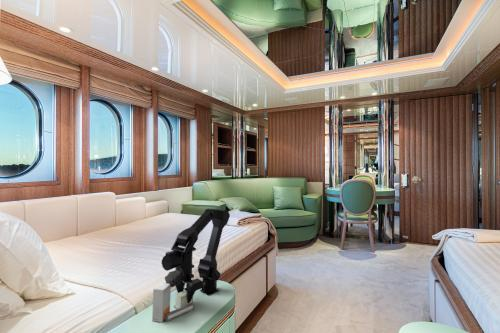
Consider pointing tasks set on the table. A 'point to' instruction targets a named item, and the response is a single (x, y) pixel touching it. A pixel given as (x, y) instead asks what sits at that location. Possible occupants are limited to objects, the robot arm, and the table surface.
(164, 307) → the skincare box
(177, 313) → the rail
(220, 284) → the table surface
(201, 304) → the table surface
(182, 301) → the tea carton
